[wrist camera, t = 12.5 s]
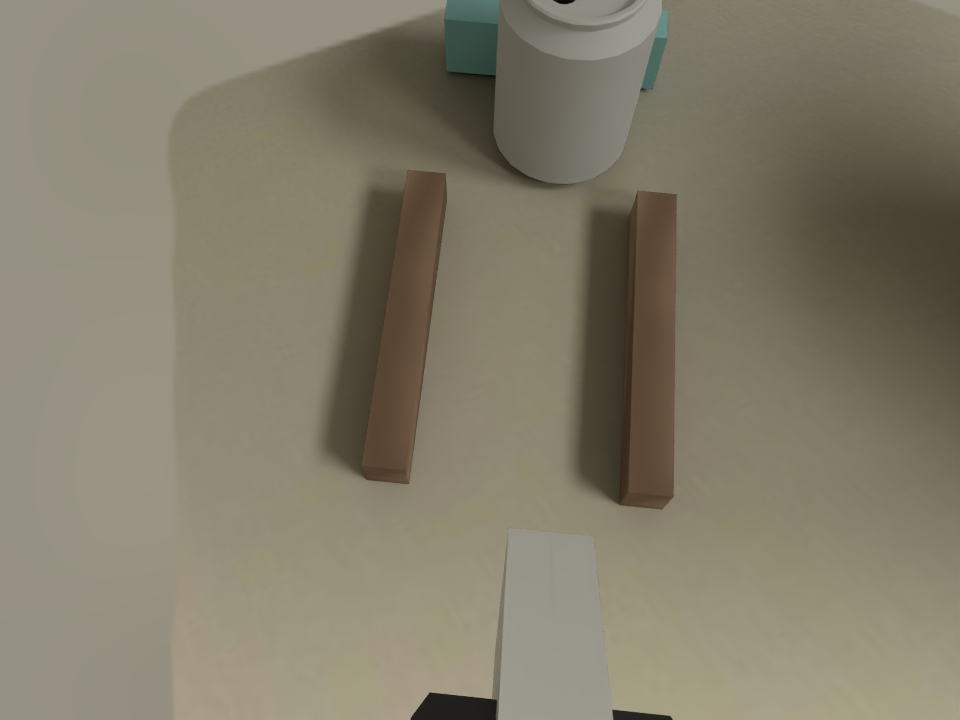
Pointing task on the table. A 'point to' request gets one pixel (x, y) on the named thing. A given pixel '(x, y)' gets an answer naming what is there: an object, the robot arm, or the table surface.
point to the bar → (477, 37)
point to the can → (569, 82)
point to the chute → (645, 343)
